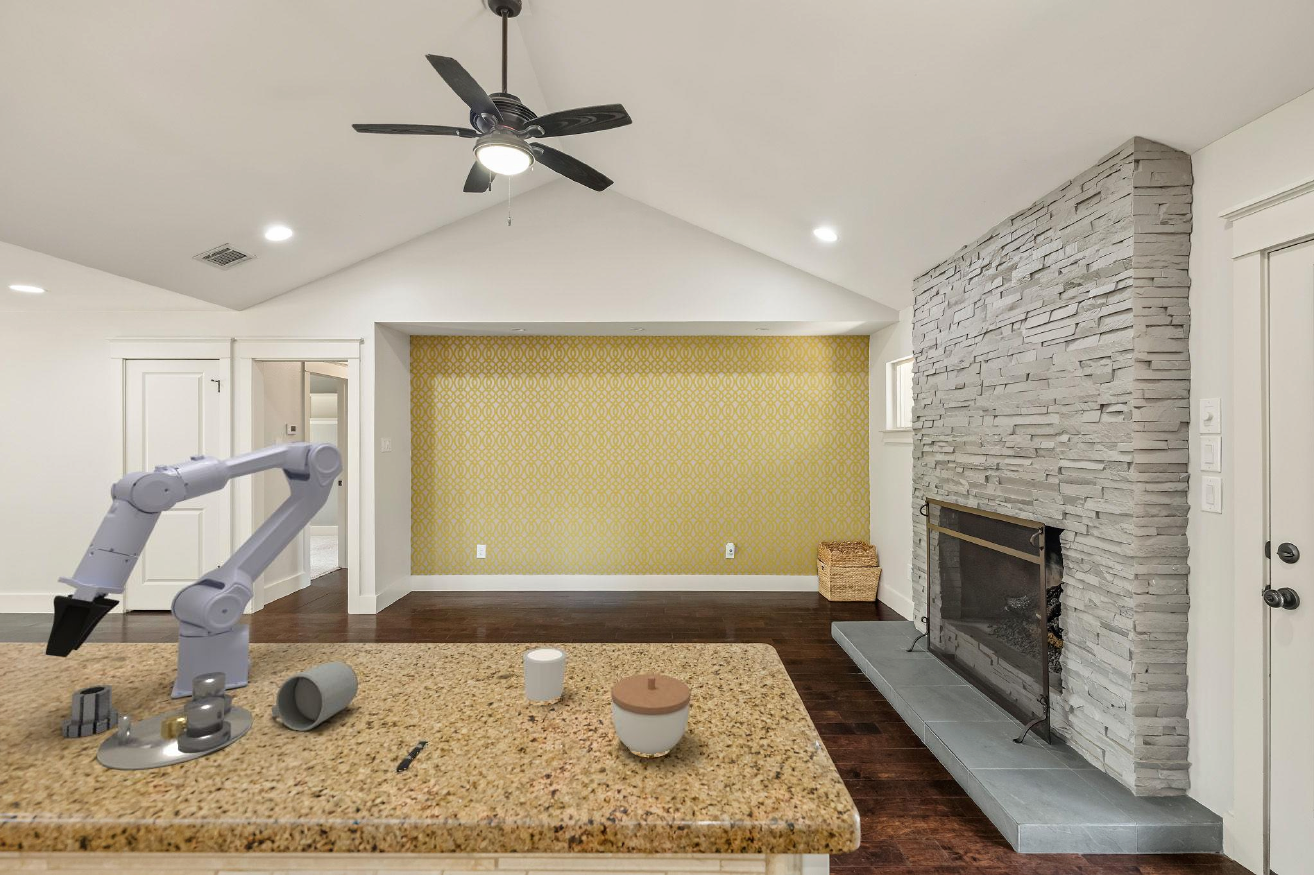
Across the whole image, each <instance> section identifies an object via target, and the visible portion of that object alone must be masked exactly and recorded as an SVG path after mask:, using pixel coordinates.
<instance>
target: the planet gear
mask: <svg viewBox="0 0 1314 875" xmlns="http://www.w3.org/2000/svg"><path fill="white" fill-rule="evenodd" d="M112 698H113V686H112V685H110V684H103V685H101V684H98V685H91V686H89V687H83V688H81V689H77V690H76V691H74V692H73V694H72V697H71V715H69V716H68V717H66V718H65V719H64V720H63V721H62V724H61V735H62V736H63V737H65V738H68V739H69V738H74V739H75V738H79V737H81V738H84V737H89V736H93V735H94V734H95V735H97V734H100V733H103V732H106V731H108V730H111V729H112V728H114V727H116V726H117V725H118V718H119V717H120V709H119V708H117V707H113V706H112V704H113V703H112Z"/></svg>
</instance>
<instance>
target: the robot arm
mask: <svg viewBox="0 0 1314 875" xmlns="http://www.w3.org/2000/svg"><path fill="white" fill-rule="evenodd" d="M342 457H343V456H342V453H341V451H340V449H339V447H337V445H335V444H333V443H331V442H320V443H319V442H307V441H306V442H304V441H302V440H301V441H299V440H294V441H291V442H281V443H277V444H273V445H270V446H266V447H262V448H259V449H255V450H253V451H249V452H246V453H243V454H239V455H235V456H233V457H232V456H231V457H230V458H226V459H223V460H221V459H218V458H217V457H214V456H211V455H207V456H205V455H204V454H194V455H191V456H190V457H189V458H190V460H187V461H183V462H179V463H175V464H172V465H168V466H167V464H164V463H163V464H158V465H155V466H154V469H155V470H153V471H152V472H148V471H133V472H130V473H127V474H125V475H124V476H122V478H119V480H118V481H117V482H116V483H115V482H114V483H112V485H111V488H110V497H111V499H112V503H111V505H110V507H109V509H108V510H107V513H106V514H105V516H104V518H103V520H102V521H101V523H100V525H99V527H98V528H97V531H95V533H94V536H93V538H92V539H91V541H90V543H89V545H88V548H87V549H86V551H85V553H84V555H83V556H82V559H81V560H80V562H79V564H78V566H77V568H76V569H75V572H74V574H72V577H66V576H60V577H59V578H58V579H57V583H61V584H66V585H68V586H70V587H71V588H72V587H73V589H76V590H75V591H74V592H73V594H68V595H67V596H65V595H64V596H63V595H55V596H54V598H53V610H54V611H53V622H52V623H53V624H52V627H51V630H50V635H49V637H48V640H47V645H46V648H45V656H51V657H58V658H59V657H61V658H66V657H68V656H69V655H70V654H71V653H72V651H78V650H79V649H80V647H82V646H83V644H84V643H85V642H86V641H87V639H88V638H89V637H90V635H91V634H92V632H93V631H94V630H95V628H96V626H97V625H98V624H99V623H100V622H101V621H102V619H104V618H105V616H106V615H107V614H108V613H109V612H111V611H113V609H114V608H115V607H117V605H119V604H120V602H121V601H120V600H117V599H113V598H107V597H108V596H109V594H111V595H112V594H113V595H123V594H124V591H125V589H126V588H125V586H126V584H127V582H128V580H129V578H130V576H131V574H132V572H133V570H134V568H135V566H136V564H137V562H138V561H139V558H140V557H141V554H142V552H143V550H144V548H145V547H146V545H147V542H148V541H149V539H150V536H151V535H152V533H153V530H154V529H155V526H156V524H157V523H158V520H159V519H160V516H161V514H162V512H167V511H169V510H171V509H172V508H173V507H175V505H176V504H178V503H180V502H185V501H188V500H191V499H195V498H198V497H200V496H204V495H207V494H211V493H213V492H218V491H221V490H223V489H224V488H225V487H226V486H227V485H228V484H227V483H228V481H229V480H231V479H236V478H240V477H243V476H248V475H251V474H257V473H260V472H263V471H267V470H271V469H281V470H282V472H283V475H284V478H285V480H286V481H287V483H288V484H287V485H288V486H289V489H290V495H289V497H287V499H286V500H285V501H283V503H282V504H281V505H280V506H279V507H278V508H277V509H276V510H275V511H274V512H273V513H272V514H271V515H270V516H268V518H267V519H266V520H265V521H264V522H263V523H262V524H261V525H260V526H259V527H258V529H256V531H255V532H254V533H252V535H251V536H249V537H248V539H246V540H245V542H244V543H243V544H242V545H241V546H240V547H239V548H238V549H237V550H236V551H235V552H234V553H232V555H231V556H230V557H229V558H228V559H227V560H226V561H225V562H224V564H222V565H221V566H219V567H217V568H215V569H212V570H210V571H208V572H205V573H204V574H203V575H202V576H201V577H200V578H199V579H197V580H196V581H195V582H193V583H192V584H189V585H186V586H185V587H183V588H181V590H179V591H178V592H177V593H176V594H175V595H174V597H173V599H172V601H171V605H170V612H171V614H172V617H174V619H175V620H176V621H178V622H179V628H178V638H177V639H178V640H177V641H178V642H177V665H176V666H177V670H176V671H177V672H176V678H175V679H174V683H173V687H172V691H171V695H170V698H171V699H177V698H183V697H188V696H192V680H193V679H194V678H195V677H197V676H200V675H203V674H207V673H213V672H222V673H225V674H226V682H225V690H228V689H234V688H239V687H240V688H241V687H246V686H247V685H248V676H249V675H248V674H249V672H248V671H249V670H251V657H249V650H250V648H249V646H250V645H249V644H250V625H249V624H238V623H239V621H240V620H241V619H242V617H243V615H244V612H245V609H246V607H247V606H248V604H249V602H250V601H251V600H252V599H253V598H254V596H255V595H254V594H255V592H254V583H255V581H256V580H258V579H259V577H260V576H261V575H262V574H263V573H264V571H265V570H267V569H268V567H269V566H270V565H271V564H272V563H273V562H274V561H275V559H276V558H277V557H278V556H280V554H281V553H282V552H283V551H284V550H285V549H286V548H287V547H288V545H289V544H291V542H292V541H293V540H294V539H295V538H296V536H298V534H299V533H300V532H301V531H303V529H304V528H305V527H306V526H307V525H308V524H309V522H310V521H311V520H312V519H313V518H314V517H315V516H316V515H317V513H318V512H319V511H320V510H321V509H322V508H323V507H324V506H325V504H327V501H328V498H329V496H330V493H331V491H332V487H333V485H334V482H335V481H336V479H337V478H338V476H339V475H340V474H341V473H342V472H343V471H344V469H343V468H344V467H343V460H342V459H343V458H342Z"/></svg>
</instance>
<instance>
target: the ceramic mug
mask: <svg viewBox="0 0 1314 875" xmlns="http://www.w3.org/2000/svg"><path fill="white" fill-rule="evenodd" d="M358 688H359V680H358V676H357V674H356V672H355V670H354V669H353V668H352V666H350V665H349V664H348V663H346V662H344V661H338V660H337V661H328V662H325V663H322V664H319V665H317V666H315V667H312V668H310V669H307V670H304V671H301V672H298V673H295V674H293V675H291V676H289V677H288V678H287V679H286V680H284V681H283V682H282V684H281V685H280V687H279V689H278V690H277V693H276V699H275V700H276V701H275V703H276V704H274V705H273V706H271V713H272V715H273V718H278V717H279V719H280V721H282V723H283V724H284V725H285V726H286V727H287V728H289V729H291V730H294V731H296V730H298V731H297V732H306V731H309V730H312V729H313V728H315V727H316V726H318V725H320V724H321V723H323V722H325V721H326V720H328V719H329V718H330V717H332V716H334V715H336V714H337V713H339V712H340V711H342V710H344V709H345V708H346V707H347V706H348V705H350V703H352V702H353V700H354V698H356V695H357V693H358Z"/></svg>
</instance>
